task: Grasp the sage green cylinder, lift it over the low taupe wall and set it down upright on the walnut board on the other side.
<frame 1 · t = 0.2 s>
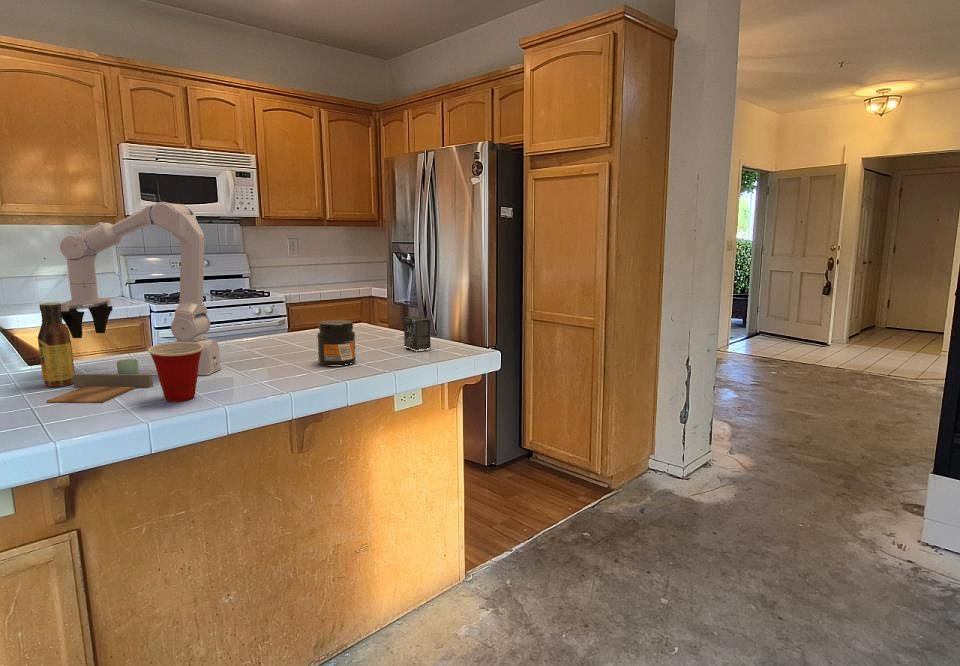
hand: (89, 335, 147), 10 cm above the worktop, fingers open, 7 cm apart
supplement container: (337, 364, 162), on the worktop
plastic cup: (180, 399, 125), on the worktop
box: (417, 350, 183), on the worktop
sage green cylinder: (129, 380, 140), on the worktop
walnut board: (92, 395, 127), on the worktop
sauce bottle: (60, 385, 136), on the worktop
taupe wall: (113, 386, 135), on the worktop
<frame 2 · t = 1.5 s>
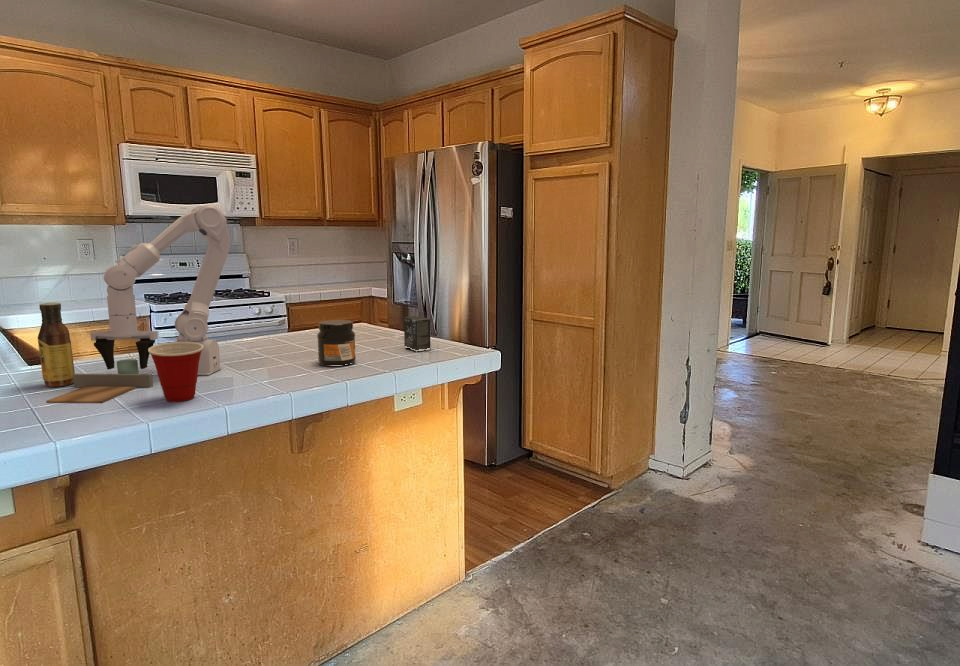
hand: (127, 368, 140), 3 cm above the worktop, fingers open, 7 cm apart
nothing on the worktop moved.
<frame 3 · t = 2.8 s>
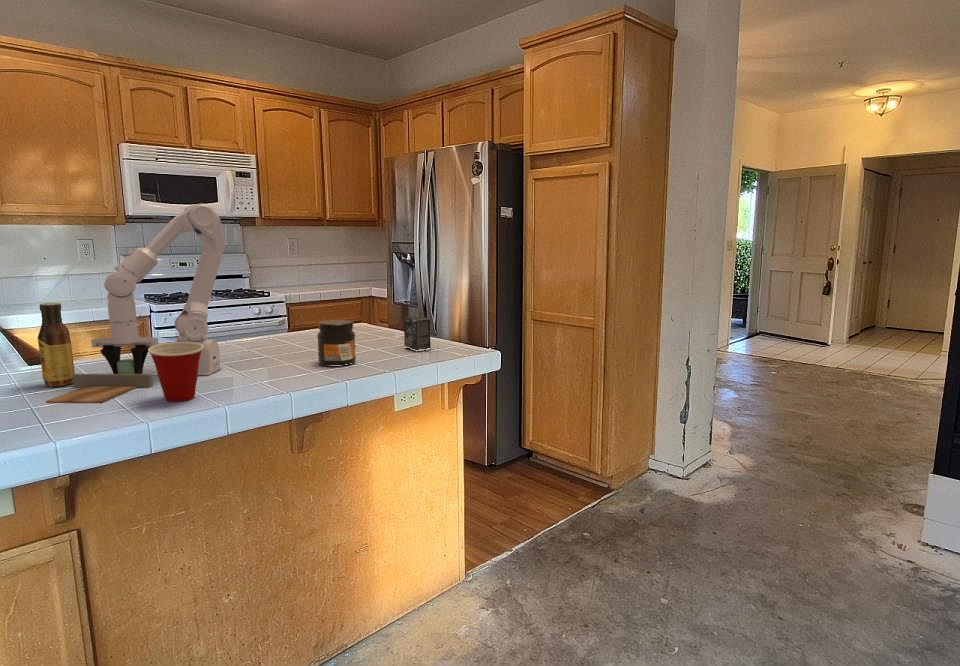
hand: (128, 374, 140), 1 cm above the worktop, fingers closed on sage green cylinder, 4 cm apart
sage green cylinder: (129, 380, 140), on the worktop, touching gripper
everything else where it was.
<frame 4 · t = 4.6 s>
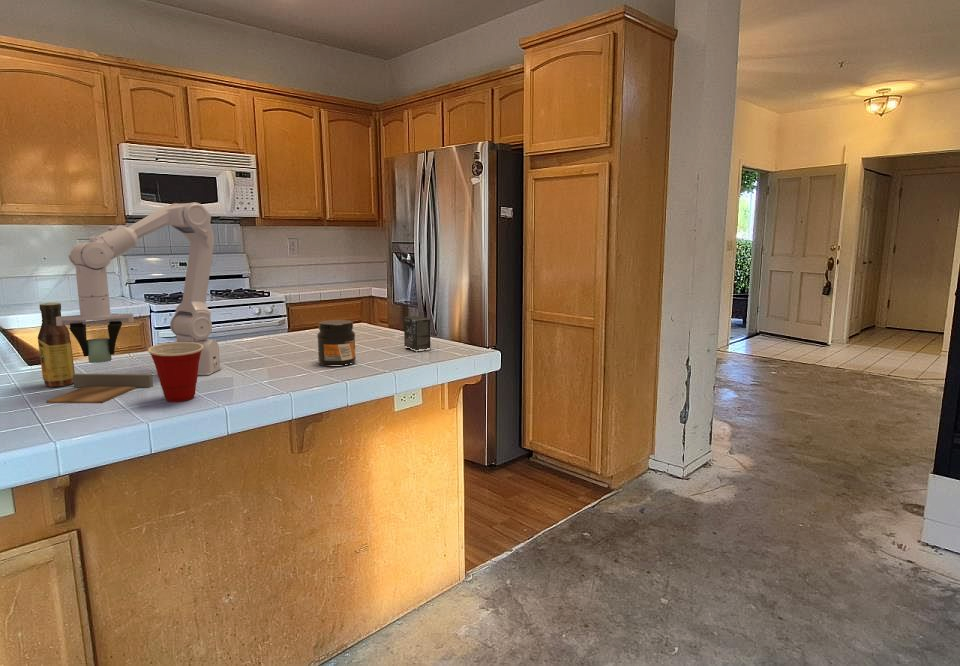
hand: (99, 354, 129), 9 cm above the worktop, fingers closed on sage green cylinder, 4 cm apart
sage green cylinder: (100, 360, 130), point 7 cm above the worktop, touching gripper
everything else where it was.
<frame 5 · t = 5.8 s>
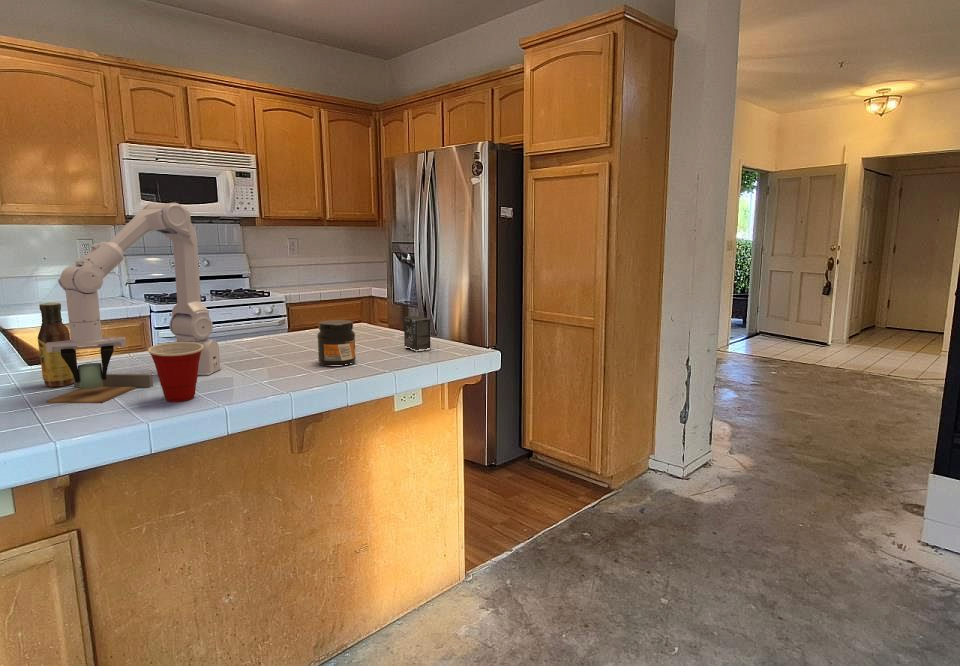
hand: (91, 380, 127), 3 cm above the worktop, fingers closed on sage green cylinder, 4 cm apart
sage green cylinder: (91, 386, 127), point 2 cm above the worktop, touching gripper
everything else where it was.
when the fingers open (3 cm above the worktop, at t = 6.8 s): sage green cylinder stays where it is, resting on walnut board.
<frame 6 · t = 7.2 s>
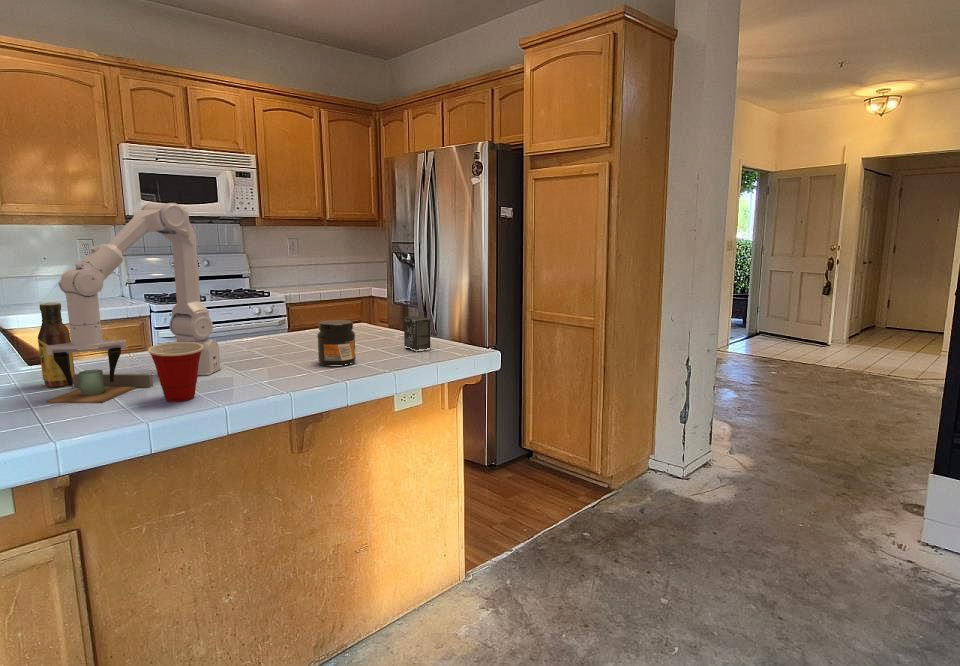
hand: (91, 383, 127), 3 cm above the worktop, fingers open, 7 cm apart
sage green cylinder: (93, 393, 127), resting on walnut board
everything else where it was.
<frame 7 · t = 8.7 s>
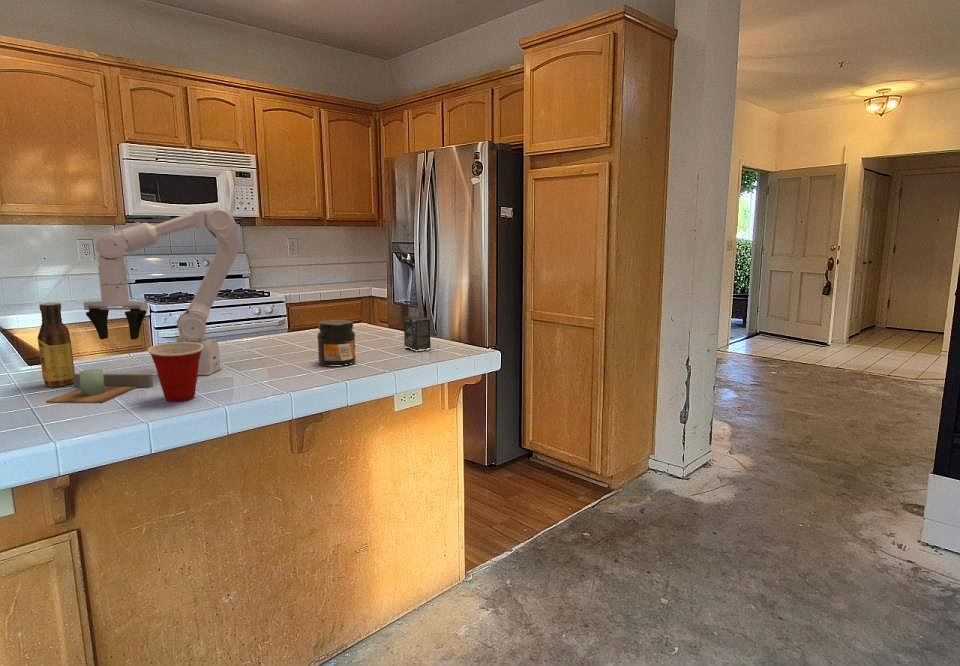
hand: (119, 338, 140), 10 cm above the worktop, fingers open, 7 cm apart
nothing on the worktop moved.
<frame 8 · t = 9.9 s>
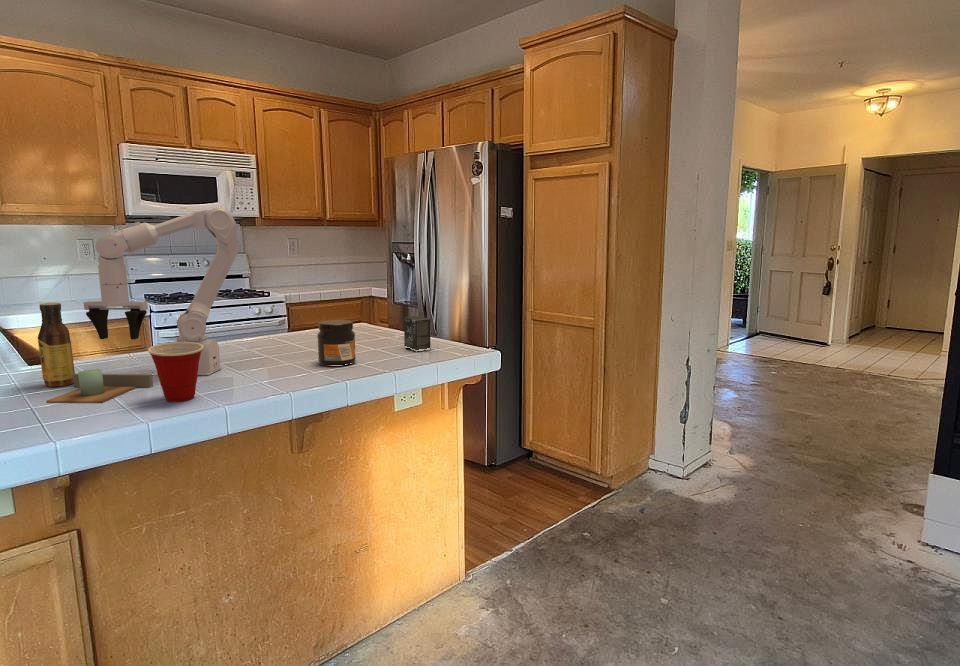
hand: (119, 338, 140), 10 cm above the worktop, fingers open, 7 cm apart
nothing on the worktop moved.
at the end: sage green cylinder 0.2 cm off-centre on the walnut board, point 0.5 cm above the walnut board's base; sage green cylinder tilted 2°; the gripper is holding nothing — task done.
